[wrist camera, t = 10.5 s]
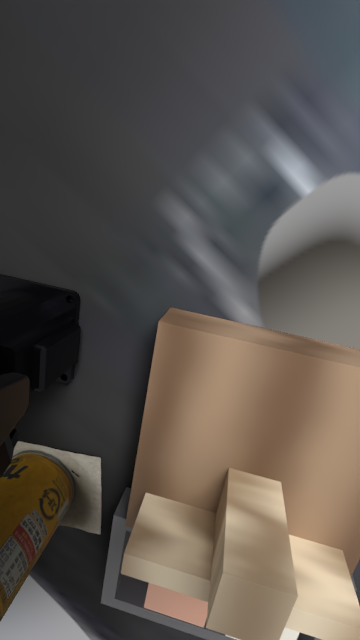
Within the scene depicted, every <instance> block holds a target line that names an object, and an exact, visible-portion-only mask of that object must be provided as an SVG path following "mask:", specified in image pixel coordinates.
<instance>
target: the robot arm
mask: <svg viewBox="0 0 360 640" xmlns="http://www.w3.org/2000/svg"><path fill="white" fill-rule="evenodd" d="M69 296H72V298H73V302H71V301H70V300H69ZM79 307H80V296H79V294H78V293H77V292H75V291H73V290H69V289H64V288H60V287H55V286H51V285H46V284H42V283H37V282H33V281H29V280H24V279H20V278H15V277H11V276H6V275H2V274H0V478H1V477H2V475H3V474H4V472H5V471H6V469H7V468H8V466H9V465H10V463H11V461H12V456H13V452H14V448H15V446H16V444H17V442H18V440H19V438H18V434H17V431H16V429H13V428H14V427H15V425H16V424H17V423H18V421H19V420H20V419H21V417H22V416H23V415H24V413H25V412H26V410H27V408H28V404H29V395H31V394H32V393H33V392H34V391H39V392H41V391H43V390H44V389H46V388H47V387H48V386H49V385H50V384H52V383H53V382H54V381H55V382H58V383H62V384H68V383H69V382H70V381H71V380H72V379H73V377H74V368H75V363H76V362H77V361H78V353H79V341H80V329H81V328H80V326H79V324H78V319H79ZM64 374H65V375H66V376H67V378H66V377H65V376H64Z"/></svg>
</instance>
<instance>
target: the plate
mask: <svg viewBox="0 0 360 640" xmlns="http://www.w3.org/2000/svg"><path fill="white" fill-rule="evenodd" d="M229 468H232V469H235V470H239V471H243V472H246V473H250V474H253V475H257V476H261V477H264V478H268V479H272V480H275V481H279V482H281V485H282V492H283V499H284V505H285V512H286V519H287V526H288V532H289V535H292V536H296V537H299V538H302V539H306V540H309V541H313V542H316V543H319V544H323V545H326V546H330V547H333V548H336V549H340V550H343V553H344V557H345V560H346V563H347V567H348V570H349V573H350V576H351V575H352V573H353V571H354V569H355V567H356V565H357V563H358V561H359V559H360V350H359V349H355V348H351V347H346V346H342V345H337V344H333V343H328V342H324V341H319V340H314V339H310V338H305V337H301V336H296V335H291V334H288V333H283V332H279V331H274V330H270V329H265V328H261V327H256V326H252V325H247V324H243V323H238V322H234V321H229V320H225V319H220V318H216V317H211V316H207V315H202V314H198V313H193V312H189V311H185V310H180V309H176V308H171V307H170V309H169V310H168V311H167V312H166V313H165V315H164V316H163V317H162V318H161V319H160V321H159V323H158V329H157V335H156V341H155V347H154V353H153V359H152V365H151V371H150V377H149V384H148V390H147V396H146V402H145V408H144V414H143V420H142V426H141V432H140V438H139V445H138V451H137V457H136V463H135V469H134V475H133V481H132V487H131V493H130V499H129V505H128V512H127V518H126V524H125V526H127V527H130V528H133V527H134V524H135V521H136V518H137V516H138V513H139V510H140V507H141V504H142V502H143V499H144V496H145V493H149V494H153V495H156V496H160V497H163V498H166V499H170V500H173V501H177V502H180V503H183V504H187V505H190V506H194V507H197V508H200V509H204V510H207V511H211V512H214V513H216V512H217V509H218V505H219V501H220V498H221V494H222V491H223V487H224V483H225V480H226V476H227V472H228V469H229Z"/></svg>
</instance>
